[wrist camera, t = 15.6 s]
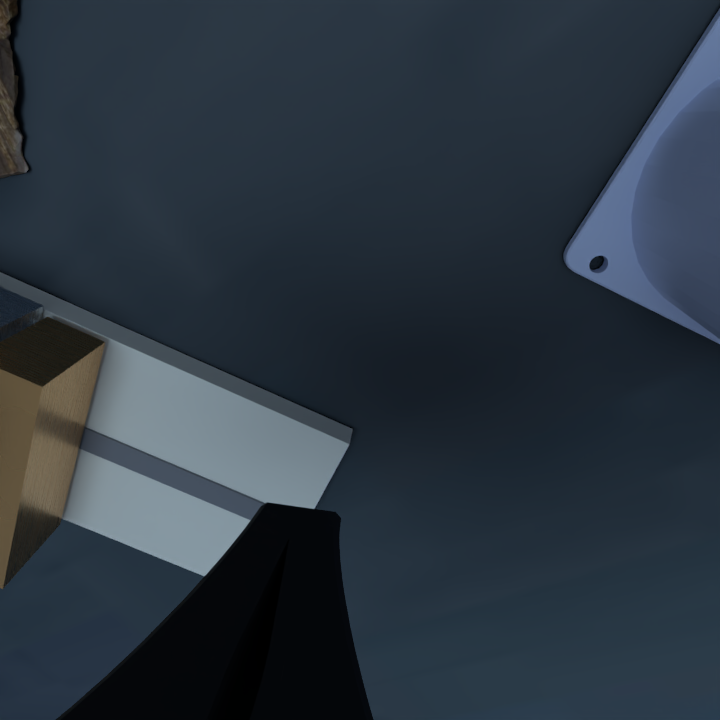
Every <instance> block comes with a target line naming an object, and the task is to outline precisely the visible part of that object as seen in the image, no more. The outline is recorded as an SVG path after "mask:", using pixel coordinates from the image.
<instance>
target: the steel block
mask: <svg viewBox="0 0 720 720" xmlns="http://www.w3.org/2000/svg"><path fill="white" fill-rule="evenodd" d="M43 307H44V306H43V305H41V304H39V303H36V302H34V301H32V300H30V299H27V298H25V297H23V296H21V295H18V294H16V293H14V292H11V291H9V290H7V289H5V288H2V287H0V340H2V339H3V338H5V337H7V336H9V335H11V334H13V333H15V332H17V331H19V330H20V329H22V328H24V327H26V326H28V325H30V324H32V323H34V322H35V321H37V320H38V321H40V320H41V318H42V313H43Z"/></svg>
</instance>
